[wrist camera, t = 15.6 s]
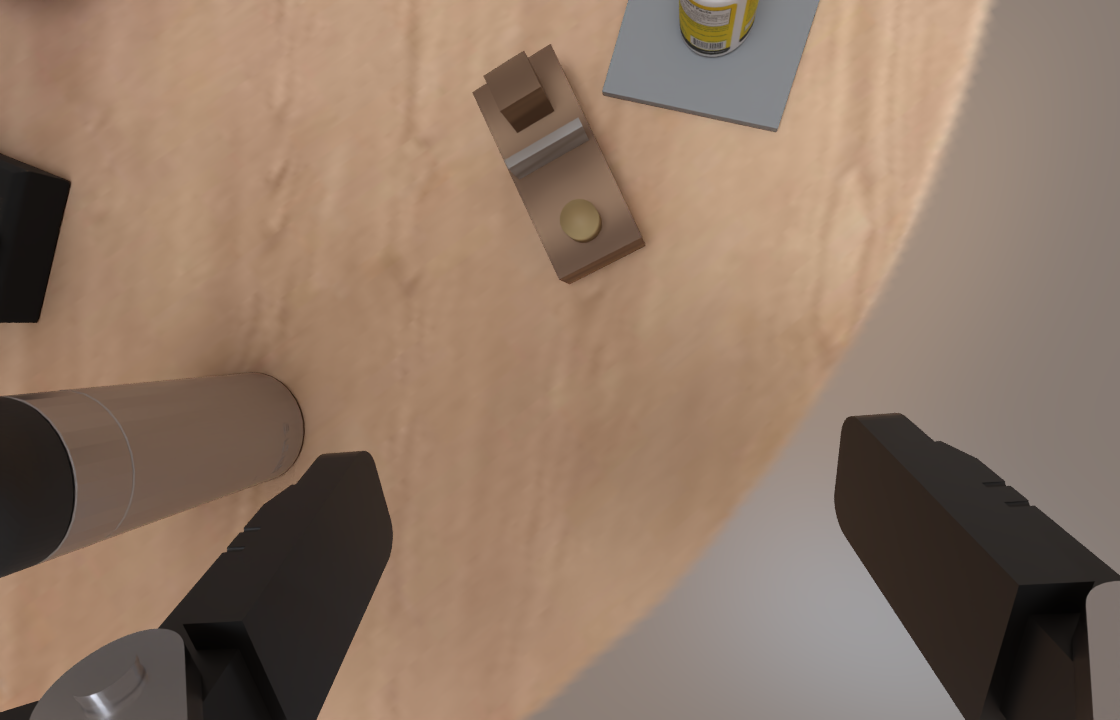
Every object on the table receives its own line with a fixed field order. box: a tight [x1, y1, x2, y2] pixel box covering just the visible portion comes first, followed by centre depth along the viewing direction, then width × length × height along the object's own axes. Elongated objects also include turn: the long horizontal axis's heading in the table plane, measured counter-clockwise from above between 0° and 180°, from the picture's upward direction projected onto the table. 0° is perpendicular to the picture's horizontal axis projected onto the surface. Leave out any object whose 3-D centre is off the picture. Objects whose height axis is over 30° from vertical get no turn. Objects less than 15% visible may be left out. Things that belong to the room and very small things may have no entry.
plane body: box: [472, 44, 645, 284], centre depth 35 cm, size 14×6×7 cm, turn 25°
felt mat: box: [602, 0, 819, 132], centre depth 36 cm, size 12×12×1 cm
